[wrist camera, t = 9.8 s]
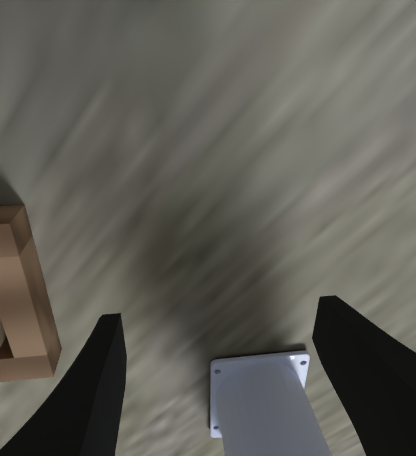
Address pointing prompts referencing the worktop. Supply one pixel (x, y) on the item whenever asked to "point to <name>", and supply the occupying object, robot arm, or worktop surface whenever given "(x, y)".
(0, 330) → the peg
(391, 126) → the worktop surface
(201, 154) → the worktop surface
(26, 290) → the holder
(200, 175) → the worktop surface
